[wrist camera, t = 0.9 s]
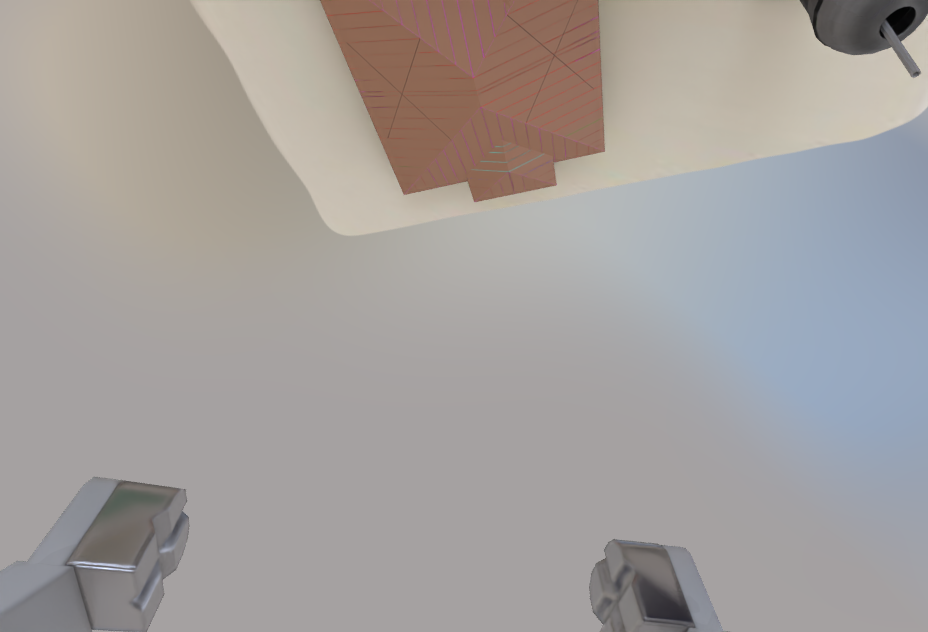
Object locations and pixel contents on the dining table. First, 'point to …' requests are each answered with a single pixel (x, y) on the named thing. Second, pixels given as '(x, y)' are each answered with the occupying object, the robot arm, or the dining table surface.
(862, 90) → the dining table surface
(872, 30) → the beverage cup
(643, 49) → the dining table surface
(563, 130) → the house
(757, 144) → the dining table surface
